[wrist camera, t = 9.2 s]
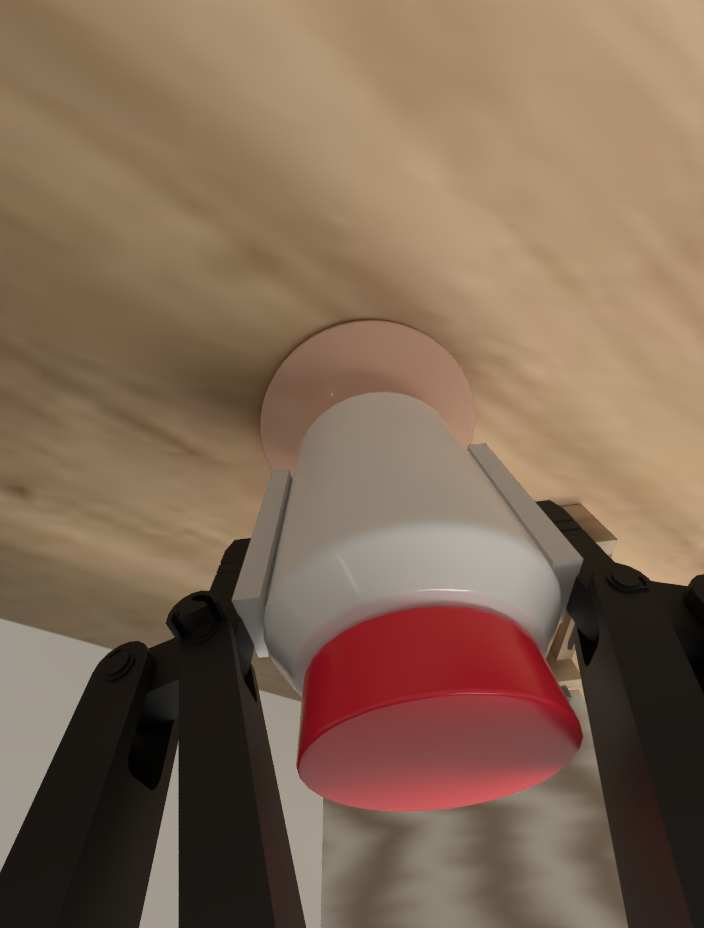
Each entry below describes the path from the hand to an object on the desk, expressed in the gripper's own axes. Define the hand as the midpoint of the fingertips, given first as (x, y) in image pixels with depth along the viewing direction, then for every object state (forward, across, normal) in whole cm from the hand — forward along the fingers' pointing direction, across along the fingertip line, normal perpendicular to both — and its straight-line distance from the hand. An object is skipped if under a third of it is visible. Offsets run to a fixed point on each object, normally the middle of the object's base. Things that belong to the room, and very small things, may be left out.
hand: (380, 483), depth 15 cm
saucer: (+5, 0, 0) cm, 5 cm away
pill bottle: (+1, 0, 0) cm, 1 cm away
